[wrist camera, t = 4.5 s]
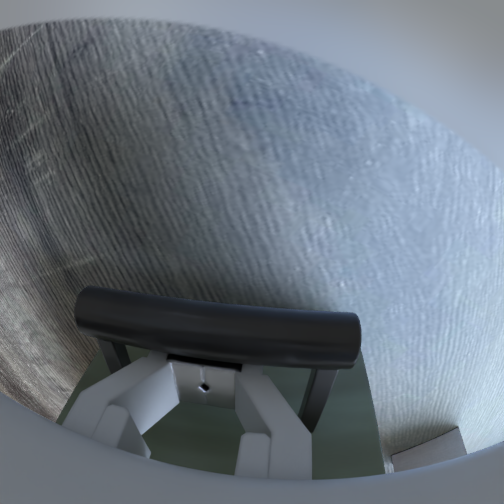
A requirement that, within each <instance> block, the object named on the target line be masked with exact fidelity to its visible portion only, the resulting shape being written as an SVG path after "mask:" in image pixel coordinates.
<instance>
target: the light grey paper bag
mask: <svg viewBox="0 0 504 504" xmlns="http://www.w3.org/2000/svg"><path fill="white" fill-rule="evenodd" d="M464 455H467V452H466V449H465V446H464V443H463V439H462V436H461V433H460V430H459V427H458V428H456V429H454V430H452V431H450V432H448V433H446V434H444V435H441V436H439V437H437V438H435V439H433V440H430V441H428V442H426V443H423V444H421V445H418V446H416V447H413V448H411V449H408V450H406V451H403V452H400V453H398V454H395V455H392V461H393V467H394V472H400V471H405V470H410V469H415V468H420V467H424V466H428V465H433V464H437V463H440V462H444V461H448V460H451V459H455V458H458V457H461V456H464Z"/></svg>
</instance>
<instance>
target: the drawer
mask: <svg viewBox="0 0 504 504" xmlns="http://www.w3.org/2000/svg"><path fill="white" fill-rule="evenodd" d="M74 317H75V323H76V326H77V328H78V329H79V331H80V332H81V333H82V334H84V335H87V336H91V337H95V338H97V341H98V344H99V346H100V349H99V351H98V352H97V354H96V356H95V357H94V359H93V360H92V362H91V363H90V365H89V367H88V368H87V370H86V371H85V373H84V375H83V376H82V378H81V380H80V381H79V383H78V385H77V386H76V388H75V390H74V391H73V393H72V395H71V396H70V398H69V400H68V401H67V403H66V405H65V407H64V408H63V410H62V412H61V414H60V415H59V417H58V419H57V421H56V422H55V423H57V424H59V425H61V426H62V424H63V422H64V420H65V418H66V417H67V415H68V413H69V411H70V410H71V408H72V406H73V404H74V403H75V401H76V399H77V397H78V396H79V394H80V392H81V391H83V390H85V389H87V388H89V387H90V386H92V385H94V384H96V383H97V382H99V381H101V380H103V379H105V378H106V377H108V376H110V375H112V374H113V373H115V372H117V371H119V370H120V369H122V368H124V367H126V366H127V365H129V364H131V363H133V362H134V361H136V360H138V359H139V358H141V357H148V355H149V353H150V351H151V350H153V351H158V352H163V353H169V354H175V355H181V356H187V357H193V358H200V359H207V360H215V361H222V362H231V363H240V364H249V365H260V366H263V373H262V375H268V376H269V378H270V379H271V381H272V382H273V383H274V385H275V386H276V388H277V389H278V390H279V392H280V393H281V395H282V396H283V397H284V399H285V400H286V401H287V403H288V404H289V405H290V407H291V408H292V410H293V411H294V412H295V414H296V415H297V416H298V418H299V419H300V420H301V422H302V423H303V424H304V426H305V427H306V428H307V429H308V431H309V432H310V433H311V436H312V480H323V479H342V478H355V477H365V476H373V475H381V474H385V467H384V460H383V454H382V448H381V442H380V436H379V430H378V425H377V420H376V415H375V410H374V405H373V400H372V395H371V390H370V386H369V381H368V377H367V373H366V368H365V364H364V360H363V356H362V352H361V348H360V347H361V325H360V321H359V318H358V316H357V315H356V314H355V313H349V312H329V311H312V310H296V309H283V308H270V307H258V306H247V305H236V304H226V303H217V302H207V301H199V300H190V299H182V298H174V297H166V296H158V295H151V294H144V293H137V292H130V291H123V290H117V289H110V288H104V287H98V286H87V287H85V288H84V289H83V290H82V291H81V292H80V293H79V295H78V297H77V300H76V303H75V309H74ZM245 433H246V432H245V430H244V428H243V426H242V424H241V422H240V420H239V418H238V416H237V414H236V412H235V410H233V409H227V408H220V407H214V406H209V405H202V404H195V403H189V402H182V401H179V403H178V404H177V405H176V406H175V407H174V408H173V409H172V410H170V411H169V412H168V413H167V414H166V415H165V416H163V417H162V418H161V419H160V420H159V421H158V422H156V423H155V424H154V425H153V426H152V427H150V428H149V429H148V430H147V431H146V432H144V433H143V434H142V435H141V436H142V437H143V439H144V441H145V443H146V444H147V446H148V448H149V450H150V451H151V455H150V458H149V459H153V460H157V461H160V462H164V463H168V464H173V465H177V466H181V467H186V468H191V469H196V470H201V471H207V472H213V473H220V474H227V475H234V474H235V468H236V463H237V457H238V451H239V445H240V440H241V436H242V435H243V434H245Z"/></svg>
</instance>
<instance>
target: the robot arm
mask: <svg viewBox="0 0 504 504" xmlns="http://www.w3.org/2000/svg"><path fill="white" fill-rule="evenodd" d="M262 373H263V366H260V365H249V364H240V363H231V362H222V361H215V360H207V359H200V358H193V357H187V356H181V355H175V354H169V353H163V352H158V351H153V350H151V351H150V353H149V355H148V357H141V358H139V359H138V360H136V361H134V362H133V363H131V364H129V365H127V366H126V367H124V368H122V369H120V370H119V371H117V372H115V373H113V374H112V375H110V376H108V377H106V378H105V379H103V380H101V381H99V382H97V383H96V384H94V385H92V386H90V387H89V388H87V389H85V390H83V391H81V392H80V394H79V396H78V397H77V399H76V401H75V403H74V404H73V406H72V408H71V410H70V411H69V413H68V415H67V417H66V418H65V420H64V422H63V424H62V426H61V425H59V424H57V423H55V422H53V421H51V420H49V419H47V418H45V417H43V416H41V415H39V414H37V413H35V412H34V411H32V410H30V409H28V408H27V407H25V406H23V405H21V404H20V403H18V402H16V401H15V400H13V399H11V398H10V397H8V396H7V395H5V394H3V393H2V392H0V504H504V441H502V442H500V443H498V444H495V445H492V446H490V447H487V448H485V449H482V450H479V451H476V452H473V453H470V454H467V455H464V456H461V457H458V458H455V459H451V460H448V461H444V462H440V463H437V464H433V465H428V466H424V467H420V468H415V469H410V470H405V471H400V472H394V473H388V474H381V475H373V476H365V477H355V478H342V479H323V480H312V436H311V433H310V432H309V431H308V429H307V428H306V427H305V426H304V424H303V423H302V422H301V420H300V419H299V418H298V416H297V415H296V414H295V412H294V411H293V410H292V408H291V407H290V405H289V404H288V403H287V401H286V400H285V399H284V397H283V396H282V395H281V393H280V392H279V390H278V389H277V388H276V386H275V385H274V383H273V382H272V381H271V379H270V378H269V376H268V375H262ZM179 401H182V402H189V403H195V404H202V405H209V406H214V407H220V408H227V409H233V410H235V412H236V414H237V416H238V418H239V420H240V422H241V424H242V426H243V428H244V430H245V432H246V433H245V434H243V435H242V436H241V440H240V445H239V451H238V457H237V463H236V468H235V474H234V475H227V474H220V473H213V472H207V471H201V470H196V469H191V468H186V467H181V466H177V465H173V464H168V463H164V462H160V461H157V460H153V459H149V458H150V455H151V451H150V450H149V448H148V446H147V444H146V443H145V441H144V439H143V437H142V436H141V435H142V434H143V433H144V432H146V431H147V430H148V429H149V428H150V427H152V426H153V425H154V424H155V423H156V422H158V421H159V420H160V419H161V418H162V417H163V416H165V415H166V414H167V413H168V412H169V411H170V410H172V409H173V408H174V407H175V406H176V405H177V404H178V403H179Z"/></svg>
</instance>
